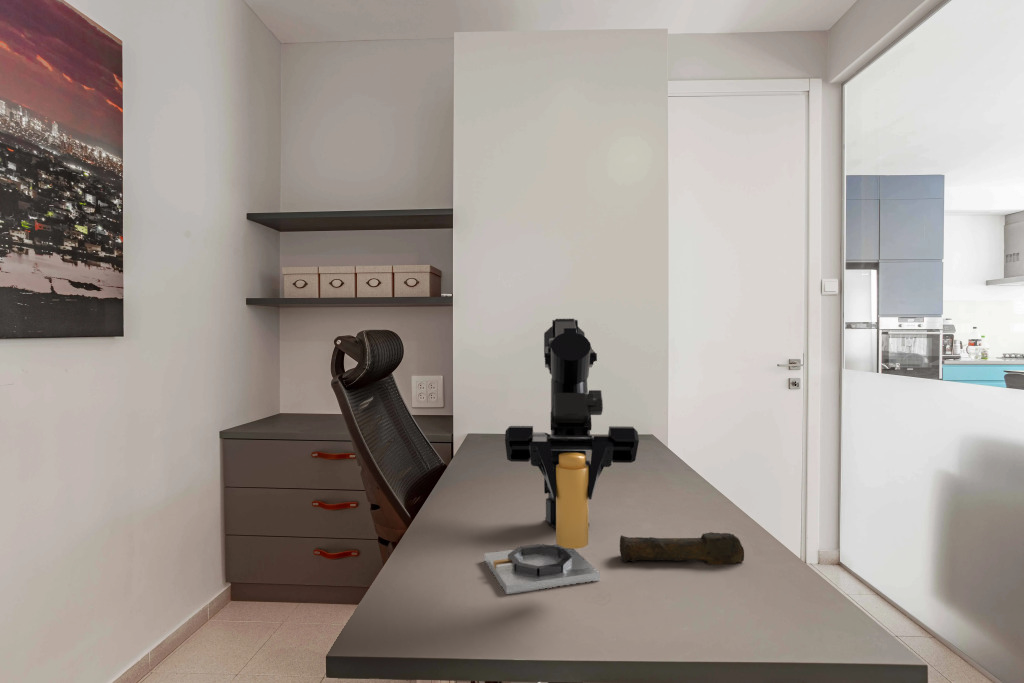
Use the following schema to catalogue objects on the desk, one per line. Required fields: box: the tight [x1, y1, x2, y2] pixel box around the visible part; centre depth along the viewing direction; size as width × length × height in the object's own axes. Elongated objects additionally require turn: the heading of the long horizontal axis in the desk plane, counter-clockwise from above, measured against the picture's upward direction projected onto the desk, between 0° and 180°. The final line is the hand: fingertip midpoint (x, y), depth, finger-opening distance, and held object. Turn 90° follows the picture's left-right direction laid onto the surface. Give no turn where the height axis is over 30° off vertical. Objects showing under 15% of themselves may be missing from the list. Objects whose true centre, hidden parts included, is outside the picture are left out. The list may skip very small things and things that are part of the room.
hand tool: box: [619, 531, 745, 566], centre depth 88 cm, size 19×4×5 cm, turn 84°
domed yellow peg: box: [555, 452, 589, 550], centre depth 78 cm, size 4×4×12 cm
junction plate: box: [484, 543, 601, 595], centre depth 85 cm, size 14×12×2 cm
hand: (572, 497), depth 76 cm, fingers closed on domed yellow peg, 4 cm apart
